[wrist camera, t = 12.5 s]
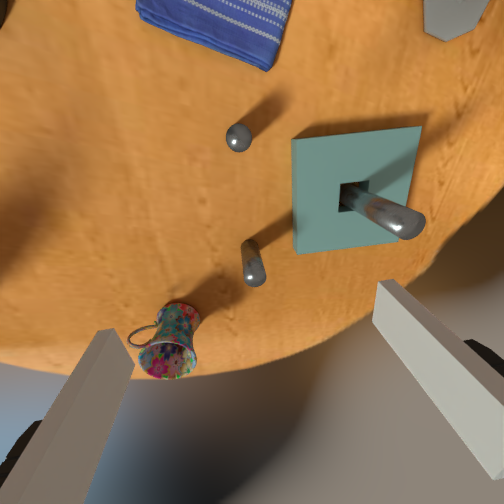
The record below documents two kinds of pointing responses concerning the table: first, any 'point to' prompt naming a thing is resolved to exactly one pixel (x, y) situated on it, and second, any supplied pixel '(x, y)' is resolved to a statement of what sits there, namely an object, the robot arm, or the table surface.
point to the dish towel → (223, 25)
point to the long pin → (383, 211)
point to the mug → (170, 343)
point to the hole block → (345, 171)
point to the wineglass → (451, 17)
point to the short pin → (238, 137)
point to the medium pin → (252, 264)
